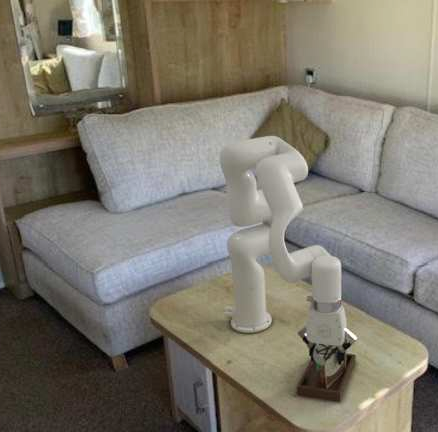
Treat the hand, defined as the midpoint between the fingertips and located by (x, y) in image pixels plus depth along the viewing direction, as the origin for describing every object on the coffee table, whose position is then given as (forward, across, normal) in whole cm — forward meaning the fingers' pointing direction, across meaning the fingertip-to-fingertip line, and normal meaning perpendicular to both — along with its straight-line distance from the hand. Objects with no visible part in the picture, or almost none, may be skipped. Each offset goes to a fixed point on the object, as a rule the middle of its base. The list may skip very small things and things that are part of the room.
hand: (327, 359), depth 168 cm
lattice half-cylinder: (+5, 0, 0) cm, 5 cm away
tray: (+6, 0, 0) cm, 6 cm away
